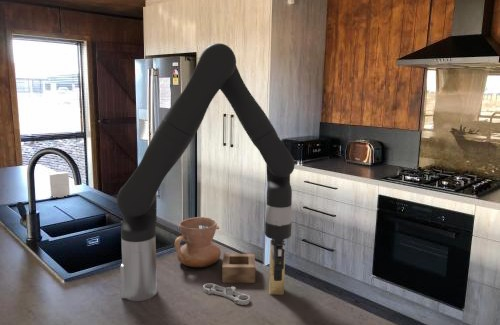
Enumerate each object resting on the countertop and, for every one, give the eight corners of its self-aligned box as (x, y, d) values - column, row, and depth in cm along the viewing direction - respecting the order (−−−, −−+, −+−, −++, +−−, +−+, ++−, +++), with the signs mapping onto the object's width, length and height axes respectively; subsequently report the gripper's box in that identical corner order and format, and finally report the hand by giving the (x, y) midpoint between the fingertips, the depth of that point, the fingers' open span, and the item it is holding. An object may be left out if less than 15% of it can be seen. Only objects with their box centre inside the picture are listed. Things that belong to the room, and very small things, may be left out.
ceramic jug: (206, 249, 149) (205, 211, 146) (232, 261, 139) (231, 221, 136) (163, 264, 137) (161, 223, 134) (188, 278, 127) (186, 235, 124)
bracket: (233, 306, 108) (200, 284, 119) (232, 312, 109) (200, 290, 120) (254, 297, 113) (221, 276, 124) (253, 303, 114) (221, 282, 125)
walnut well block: (222, 282, 124) (222, 267, 123) (223, 268, 134) (223, 253, 133) (255, 282, 124) (255, 267, 123) (254, 268, 134) (254, 253, 133)
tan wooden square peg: (269, 294, 118) (271, 248, 115) (268, 287, 122) (270, 243, 119) (283, 294, 118) (285, 248, 115) (282, 287, 122) (283, 243, 119)
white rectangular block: (66, 192, 223) (65, 170, 221) (72, 195, 217) (70, 173, 214) (49, 194, 218) (47, 172, 215) (53, 198, 211) (52, 175, 209)
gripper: (263, 211, 123) (262, 263, 126) (266, 228, 108) (265, 286, 112) (288, 212, 123) (286, 263, 126) (294, 228, 109) (292, 286, 112)
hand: (276, 274), depth 119 cm, fingers open, 7 cm apart
